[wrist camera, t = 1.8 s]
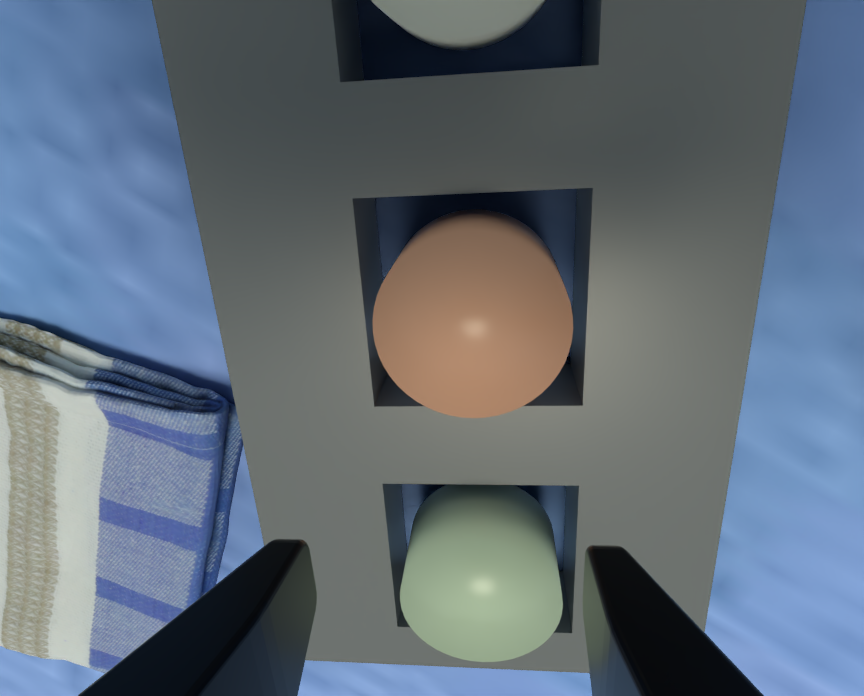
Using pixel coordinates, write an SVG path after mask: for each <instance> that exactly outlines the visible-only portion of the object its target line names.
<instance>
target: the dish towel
mask: <svg viewBox="0 0 864 696" xmlns="http://www.w3.org/2000/svg"><path fill="white" fill-rule="evenodd" d="M242 446H243V440H242V435H241V430H240V425H239V420H238V415H237V411H236V406H235V405H234V404H231V403H229V402H228V401H227V400H226V399H225V398H224V397H223V396H221V395H219V394H217V393H216V392H214V391H213V390H210V389H206V388H199V387H194V386H192V385H190V384H188V383H186V382H183V381H181V380H179V379H177V378H174V377H172V376H169V375H167V374H164V373H161V372H158V371H154V370H151V369H148V368H145V367H142V366H139V365H136V364H133V363H130V362H127V361H123V360H120V359H117V358H112V357H107V356H104V355H102V354H100V353H98V352H96V351H94V350H92V349H90V348H87V347H85V346H82V345H80V344H77V343H75V342H72V341H70V340H67V339H64V338H61V337H58V336H56V335H54V334H52V333H50V332H47V331H43V330H40V329H38V328H36V327H34V326H32V325H29V324H24V323H20V322H17V321H15V320H10V319H3V318H0V646H2V647H4V648H6V649H10V650H14V651H17V652H21V653H24V654H27V655H31V656H37V657H40V658H45V659H61V660H67V661H70V662H72V663H75V664H78V665H82V666H85V667H88V668H91V669H94V670H97V671H100V672H103V673H107V672H108V671H109V670H110V669H112V668H113V667H114V666H115V665H116V664H118V663H119V662H120V661H121V660H123V659H124V658H125V657H126V656H128V655H129V654H130V653H131V652H133V651H134V650H135V649H136V648H138V647H139V646H140V645H141V644H143V643H144V642H145V641H146V640H148V639H149V638H150V637H151V636H153V635H154V634H155V633H156V632H158V631H159V630H160V629H161V628H163V627H164V626H165V625H166V624H168V623H169V622H170V621H171V620H173V619H174V618H175V617H176V616H178V615H179V614H180V613H181V612H183V611H184V610H185V609H186V608H188V607H189V606H190V605H191V604H193V603H194V602H195V601H196V600H198V599H199V598H200V597H201V596H203V595H204V594H205V593H206V592H208V591H209V590H210V589H211V588H213V587H214V586H215V585H216V581H217V576H218V571H219V567H220V563H221V559H222V554H223V551H224V547H225V543H226V539H227V535H228V525H229V514H230V507H231V502H232V497H233V492H234V487H235V481H236V475H237V470H238V466H239V461H240V456H241V451H242Z"/></svg>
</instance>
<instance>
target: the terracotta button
mask: <svg viewBox="0 0 864 696" xmlns="http://www.w3.org/2000/svg"><path fill="white" fill-rule="evenodd" d="M572 335H573V314H572V308H571V303H570V300H569V297H568V294H567V291H566V289H565V286H564V283H563V281H562V278H561V276H560V273H559V271H558V268H557V266H556V263H555V260H554V258H553V256H552V254H551V252H550V250H549V249H548V247H547V246H546V245H545V243H544V242H543V240H542V239H541V238H540V237H539V236H538V235H537V234H536V233H535V232H534V231H533V230H532V229H530V228H529V227H528V226H527V225H525V224H524V223H522V222H520V221H519V220H517V219H515V218H513V217H511V216H508V215H506V214H503V213H499V212H496V211H490V210H484V209H469V210H460V211H456V212H452V213H449V214H446V215H443V216H441V217H438V218H437V219H435V220H433V221H431V222H429V223H428V224H426V225H425V226H424V227H422V228H421V229H420V230H419V231H418V232H417V233H416V234H415V235H414V236H413V237H412V238H411V239H410V240H409V241H408V243H407V244H406V245H405V247H404V248H403V250H402V252H401V253H400V255H399V256H398V258H397V260H396V261H395V263H394V264H393V266H392V268H391V269H390V271H389V272H388V274H387V276H386V278H385V279H384V281H383V283H382V284H381V287H380V289H379V292H378V294H377V297H376V301H375V305H374V311H373V336H374V342H375V346H376V349H377V352H378V356H379V358H380V360H381V362H382V364H383V366H384V368H385V369H386V371H387V373H388V374H389V376H390V377H391V378H392V380H393V381H394V382H395V383H396V384H397V386H398V387H399V388H400V389H402V390H403V391H404V392H405V393H406V394H407V395H408V396H410V397H411V398H412V399H414V400H415V401H417V402H418V403H420V404H422V405H424V406H425V407H427V408H430V409H432V410H434V411H437V412H439V413H443V414H446V415H450V416H456V417H461V418H486V417H492V416H498V415H501V414H505V413H508V412H511V411H513V410H516V409H518V408H520V407H522V406H524V405H526V404H527V403H529V402H531V401H532V400H534V399H535V398H536V397H538V396H539V395H540V394H541V393H543V392H544V391H545V390H546V389H547V388H548V387H549V386H550V385H551V383H552V382H553V381H554V379H555V378H556V377H557V376H558V374H559V372H560V371H561V369H562V367H563V365H564V364H565V361H566V359H567V356H568V354H569V350H570V346H571V342H572Z"/></svg>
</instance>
